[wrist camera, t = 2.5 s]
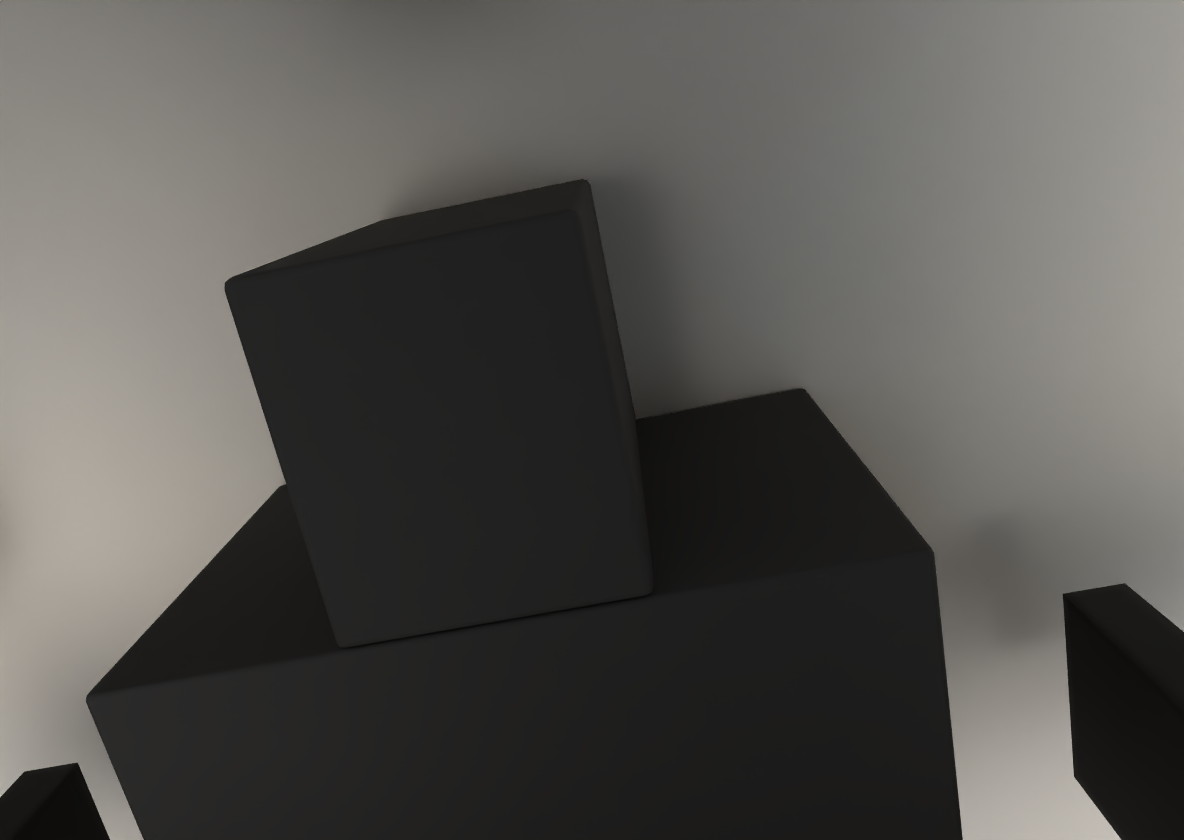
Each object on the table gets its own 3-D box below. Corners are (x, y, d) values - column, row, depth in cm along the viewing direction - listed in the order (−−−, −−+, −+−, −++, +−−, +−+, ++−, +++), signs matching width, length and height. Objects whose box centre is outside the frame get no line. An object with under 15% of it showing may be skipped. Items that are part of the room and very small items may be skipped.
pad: (771, 139, 12) (896, 140, 7) (859, 783, 15) (992, 1120, 10) (205, 256, 13) (-70, 339, 8) (397, 856, 16) (295, 1210, 11)
